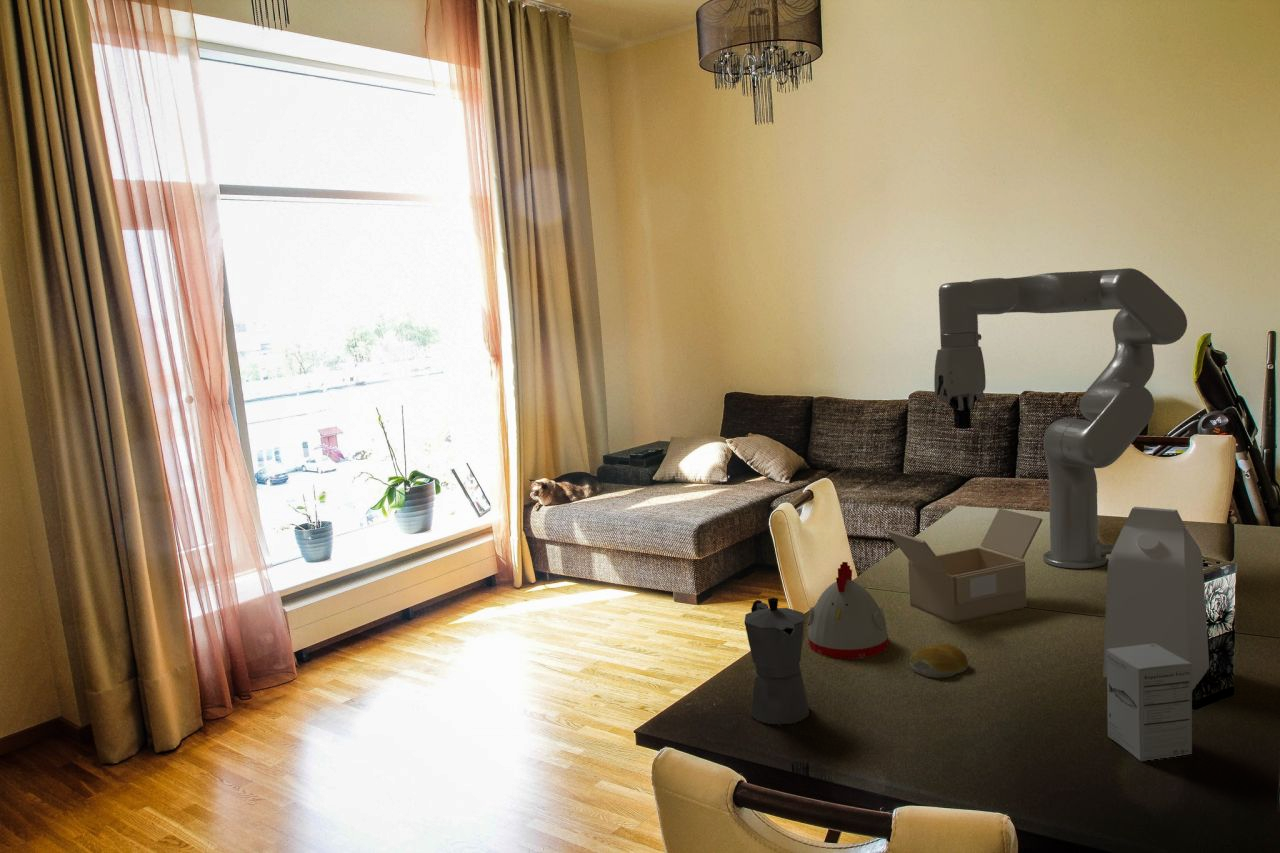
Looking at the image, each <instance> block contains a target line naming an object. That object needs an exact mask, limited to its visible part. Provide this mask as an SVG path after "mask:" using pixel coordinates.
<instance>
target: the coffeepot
mask: <svg viewBox="0 0 1280 853" xmlns="http://www.w3.org/2000/svg"><path fill="white" fill-rule="evenodd" d="M767 603H768V604H767ZM767 603H765V602H763V601H762V600H759V599H757V600H754V601H753V603H752V606H751V609H750V611H751V612H748V613H746V614H745V617H744V626H745V631H746V635H747V640H748V645H749V649H750V653H751V654H750V655H751V658H752V659H751V660H752V663H753V664H754V665H755V666H754V669H755V670H754V671H755V672H754V681H753V690H752V691H753V692H752V701H751V702H752V704H751V717H752V718H753V719H754V720H757V721H758V722H759V721H761V722H760V723H762V722H763V723H762V724H765V723H767V724H766V725H770V724H773V725H772V726H782V725H781V724H789V725H793V724H792V723H794V724H797V723H796V722H798V721H800V720H802V719H804V718H805V717H807V718H808V717H809V716H810V708H809V707H810V706H809V701H808V697H807V692H806V687H805V683H804V678H803V675H802V670H801V667H800V662H801V660H802V647H803V646H802V645H803V635H804V623H805V621H804V620H805V615H804V612H802V611H799V610H795V609H792V608H788V607H778V605H779V598H777V597H769V598H767ZM805 719H806V718H805ZM805 719H804V720H805ZM802 721H803V720H802ZM800 722H801V721H800ZM798 723H799V722H798ZM775 724H777V725H775Z"/></svg>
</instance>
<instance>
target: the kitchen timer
mask: <svg viewBox="0 0 1280 853" xmlns="http://www.w3.org/2000/svg"><path fill="white" fill-rule="evenodd" d="M839 566H840V567H837V576H836V578H835V580H836V581H835V582H833V583H831V584H830V585H829V586H828V587H826V588H825V589H824V591H823V592H822V593H821V595H820V596H819V598H818V599H817V602H816V603H815V605H813V606H814V607H812V606H811V607H810V609H809V618H808V624H809V627H808V645H809V648H810V650H812V649H813V650H814V651H815V652H814V651H813V650H812V651H813V652H814V653H816V652H817V653H816V654H818V655H821V654H822V656H824V655H826V657H829V656H830V657H829V658H833V657H834V658H833V659H835V658H836V659H844V658H845V659H846V658H849V659H862V658H868V657H872V656H877V655H879V654H880V653H883V652H885V651H886V649H888V648H889V634H888V629H887V626H886V625H887V623H886V618H885V615H884V614H885V613H884V608H883V605H878V603H877V602H876V600H875V599H874V597H873V596H872V595H871V594H870V592H869V591H868V590H867V589H866V588H865V587H863V585H861V584H859V583H858V582H856V581H854V580H853V569H851V565H849V563H848V562H847V561H842V562H841V564H840V565H839Z"/></svg>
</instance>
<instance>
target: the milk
mask: <svg viewBox="0 0 1280 853" xmlns="http://www.w3.org/2000/svg"><path fill="white" fill-rule="evenodd" d="M1127 516H1128V517H1127V518H1126V521H1125V523H1124V526H1123V528H1121V531H1120V533H1119V535H1118V538H1117V539H1116V542H1115V544H1114V548H1113V550H1112V552H1111V554H1109V558H1108V561H1107V562H1108V563H1107V569H1106V570H1107V571H1106V572H1107V573H1106V595H1105V598H1106V599H1105V600H1106V601H1105V622H1104V644H1103V645H1104V646H1103V667H1102V668H1103V671H1102V673H1103V674H1102V677H1103V678H1107V649H1111V648H1120V647H1128V646H1136V645H1144V644H1157V645H1159V646H1161V647H1162V648H1164V649H1166V650H1168V651H1170V652H1172V653H1174V654H1175V655H1177V656H1179V657H1181V658H1183V659H1184V660H1186V661H1188V662H1190V663H1191V664H1192V692H1193V691H1194V690H1195V688H1196V687H1197V686H1196V685H1198V684H1199V682H1200V681H1201V680H1202V679H1203V678H1204V676H1205V674H1207V672H1208V671H1207V670H1209V669H1210V659H1209V658H1210V657H1209V656H1210V655H1209V640H1208V628H1207V627H1208V625H1207V610H1206V608H1207V607H1206V596H1205V595H1206V592H1205V577H1204V576H1205V575H1204V574H1205V573H1204V561H1203V560H1204V559H1203V553H1202V550H1201V548H1200V546H1199V545H1198V543H1197V542H1196V540H1195V539H1194V538H1193V536H1192V535H1191V533H1190V532H1189V530H1188V529H1187V527H1186V524H1185V523H1184V520H1183V519H1182V518H1181V515H1180V513H1179V511H1178V509H1170V508H1160V507H1159V508H1157V507H1146V506H1133V507H1132V508H1131V510H1130V511H1129V514H1128V515H1127ZM1193 689H1194V690H1193Z"/></svg>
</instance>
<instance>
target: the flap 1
mask: <svg viewBox="0 0 1280 853" xmlns="http://www.w3.org/2000/svg"><path fill="white" fill-rule="evenodd" d="M885 532H886V533H887V535H889V537H890V538H891V540H893V541H894V543H895V544H896V546H898V548H899V549H900V550H901V552H902V553H903V555H904V556H905V557H906V559H908V561H911V562H914V563H916V564H919V565H922V566H925V567H928V568H930V569H933V570H936V571H939V572H941V573H944V574H947V575H948V574H949V572H948V570H947V569H946V568H945V566H944V565H943V564H942V563H941V561H940V560H939V559H938V557H937V555H936V553H935V552H934V550H932V548H931V547H930V545H928V543H927V542H926V540H923V539H920V538H916V537H914V536H911V535H907V534H905V533H901V532H898V531H896V530H893V529H889V528H887V529H886V530H885Z"/></svg>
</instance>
